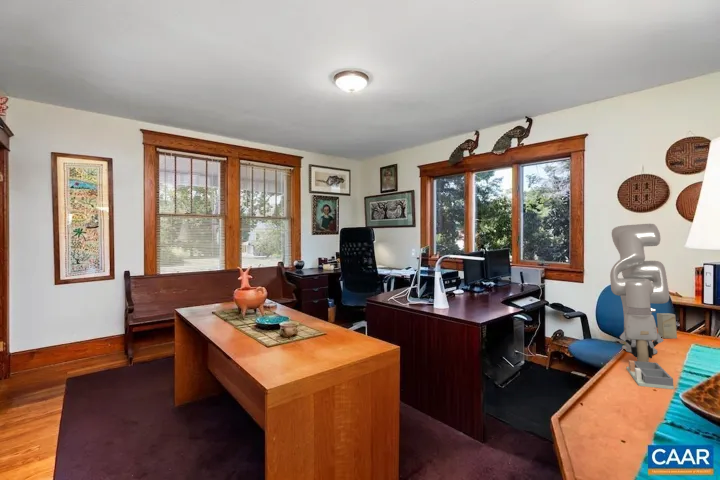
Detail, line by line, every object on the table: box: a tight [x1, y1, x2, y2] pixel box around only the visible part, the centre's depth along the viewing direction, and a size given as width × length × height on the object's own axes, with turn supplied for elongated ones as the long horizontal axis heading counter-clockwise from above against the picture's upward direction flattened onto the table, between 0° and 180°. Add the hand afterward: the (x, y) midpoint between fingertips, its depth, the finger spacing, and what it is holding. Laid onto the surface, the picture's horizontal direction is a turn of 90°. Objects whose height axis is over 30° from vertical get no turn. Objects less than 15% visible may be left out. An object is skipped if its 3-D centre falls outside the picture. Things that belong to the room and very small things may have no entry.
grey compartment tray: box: [626, 359, 675, 390], centre depth 127 cm, size 18×10×4 cm, turn 153°
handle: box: [636, 331, 650, 362], centre depth 139 cm, size 5×6×15 cm
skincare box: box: [656, 312, 678, 339], centre depth 177 cm, size 6×4×12 cm
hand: (642, 356), depth 139 cm, fingers closed on handle, 4 cm apart
